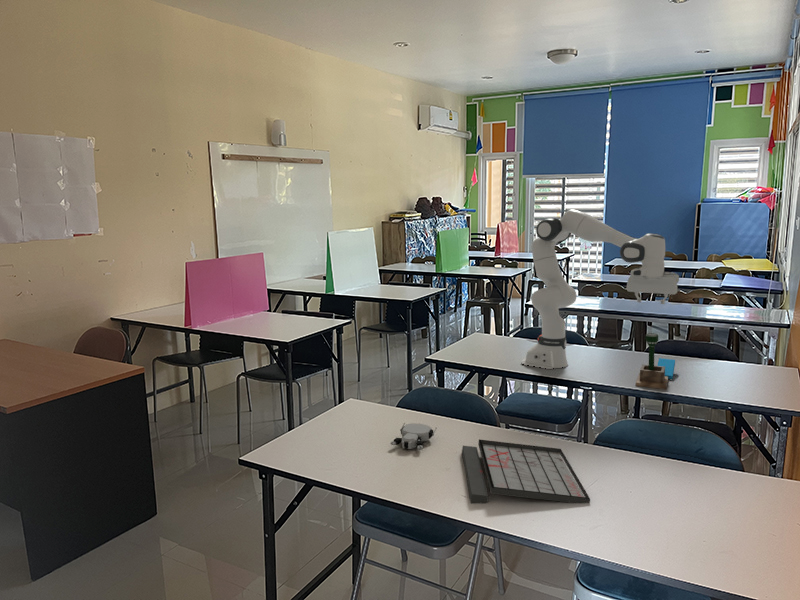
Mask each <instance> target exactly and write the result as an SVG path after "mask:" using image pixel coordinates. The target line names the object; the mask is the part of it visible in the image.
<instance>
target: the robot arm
mask: <svg viewBox="0 0 800 600" xmlns="http://www.w3.org/2000/svg"><path fill="white" fill-rule="evenodd" d="M535 232H536V235H537V238H535V239H534V240H533V241H532V242H531V253H532V254H531V255H532V259H533V265H534V268H535V273H536V277H537V278H538V279H539V280H541V281H542V282H543V283H544V285H545V286H546V287H543V288H540V289H538V290H535V291H534V292H533V293H532V295H531V298H530V299H531V304H532V306H533V307H534V308H535V310H537V311H538V314H539V316H540V318H541V334H540V335H538V337H537V343H536V344H535V345H533V346H531V347H530V348H528V350H527V351H526V354H525V357H524V358H522V359H521V363H522V364H524V365H523V366H527V365H529V366H528V367H533V366H535V367H534V368H539V367H541V368H540V369H545V368H546V369H545V370H554V369H561V368H562V367H563V368H566V367H568V366H569V363H568V359H567V354H566V348H567V336H566V321H565V319H564V318H562V317H561V315H560V312H559V310H560V309H563V308H566V307H567V308H568V307H570V306H571V305H573V304H575V302H576V300H577V291H576V290H575V288H574V287H572V286H571V285H570V284H568V282H567V281H566V280H565V278H564V276H563V274H562V272H561V268H560V265H559V262H558V258H557V254H556V250H555V249H556V245H557V246H558V245H560V244H561V243H563V242H565V241H566V240H568V239H570V237H571V236H572V234H573V236H576V237H577V238H579V239H581V240H585V241H589V242H593V243H610V244H613V245H614V246H617V247H620V249H619V255H620V258H621V259H622V260H623V262H626V263H630V264H634V263H641V266H640V267H637V268H633V269H631V271H630V276H629V277H628V279H627V282H626V291H627V292H629V293H634V296H635V298H636V302H637V303H642V298H641V297H639V293H644V294H661V295H663V296H664V298H663V299H662V298H661V299H660V305H665V303H666V301H665V300H667V298H668V296H669V295H676V294H678V283H679V281H680V275H679V274H678V273H676V272H670V271H669V272H668V271H665V257H666V240H665V239H666V238H665V237H664V236H663V235H661V234H657V233H645V235H643V236H641V237H640V238H636V237H633V236H630V235H629V234H626V233H624V232H622V231H621V230H620V231H619V230H617V229H615V228H613V227H611V226H609V225H607V224H606V223H605V222H603V221H601V220H599V219H597V218H596V217H594V216H592V215H590V214H588V213H586V212H583V211H580V210H578V209H577V210H576V209H568V210H566V211H565V212H564V213H563V215H562V217H561V218H558V217H552V218H550V217H549V218H545V219H542V220H540V221H539V222H538V223H537V225H536V230H535ZM521 363H520V364H521ZM522 364H521V365H522ZM553 368H554V369H553ZM563 368H562V369H563Z"/></svg>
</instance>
